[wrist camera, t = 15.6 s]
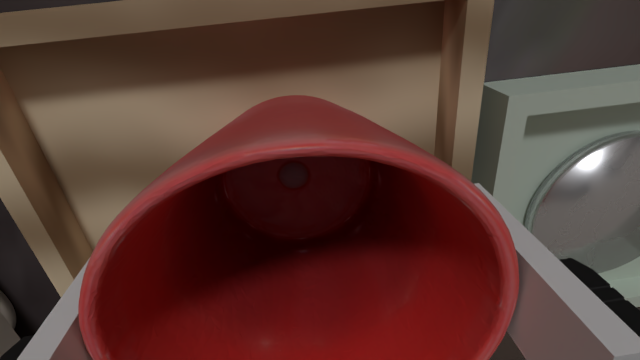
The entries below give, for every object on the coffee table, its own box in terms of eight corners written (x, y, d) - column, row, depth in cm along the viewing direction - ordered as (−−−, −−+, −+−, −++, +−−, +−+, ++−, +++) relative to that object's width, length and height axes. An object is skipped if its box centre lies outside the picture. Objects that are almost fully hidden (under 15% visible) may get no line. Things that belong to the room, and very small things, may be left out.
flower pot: (175, 40, 14) (15, 110, 6) (430, 74, 16) (604, 169, 7) (183, 249, 19) (103, 458, 10) (379, 259, 21) (448, 447, 12)
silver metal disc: (542, 141, 18) (553, 147, 17) (710, 120, 18) (728, 125, 18) (512, 275, 22) (520, 285, 21) (649, 255, 22) (661, 264, 22)
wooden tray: (-33, 18, 14) (-106, 23, 11) (460, -33, 15) (499, -38, 12) (115, 305, 22) (92, 348, 19) (435, 260, 22) (456, 295, 20)
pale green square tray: (480, 83, 17) (509, 96, 15) (765, 49, 18) (833, 57, 16) (453, 301, 24) (470, 332, 22) (658, 271, 25) (695, 298, 23)
